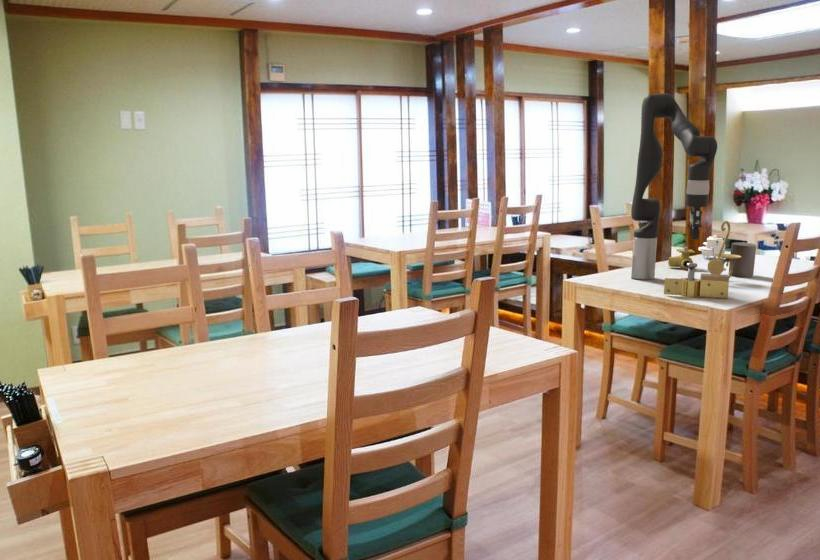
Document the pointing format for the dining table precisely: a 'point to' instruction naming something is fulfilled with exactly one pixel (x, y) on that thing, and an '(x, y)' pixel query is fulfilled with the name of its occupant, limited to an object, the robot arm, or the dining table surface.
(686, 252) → the ball valve
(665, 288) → the hinge block
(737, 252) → the pillar candle
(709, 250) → the mechanical part
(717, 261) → the wall sconce
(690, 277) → the hinge pin
